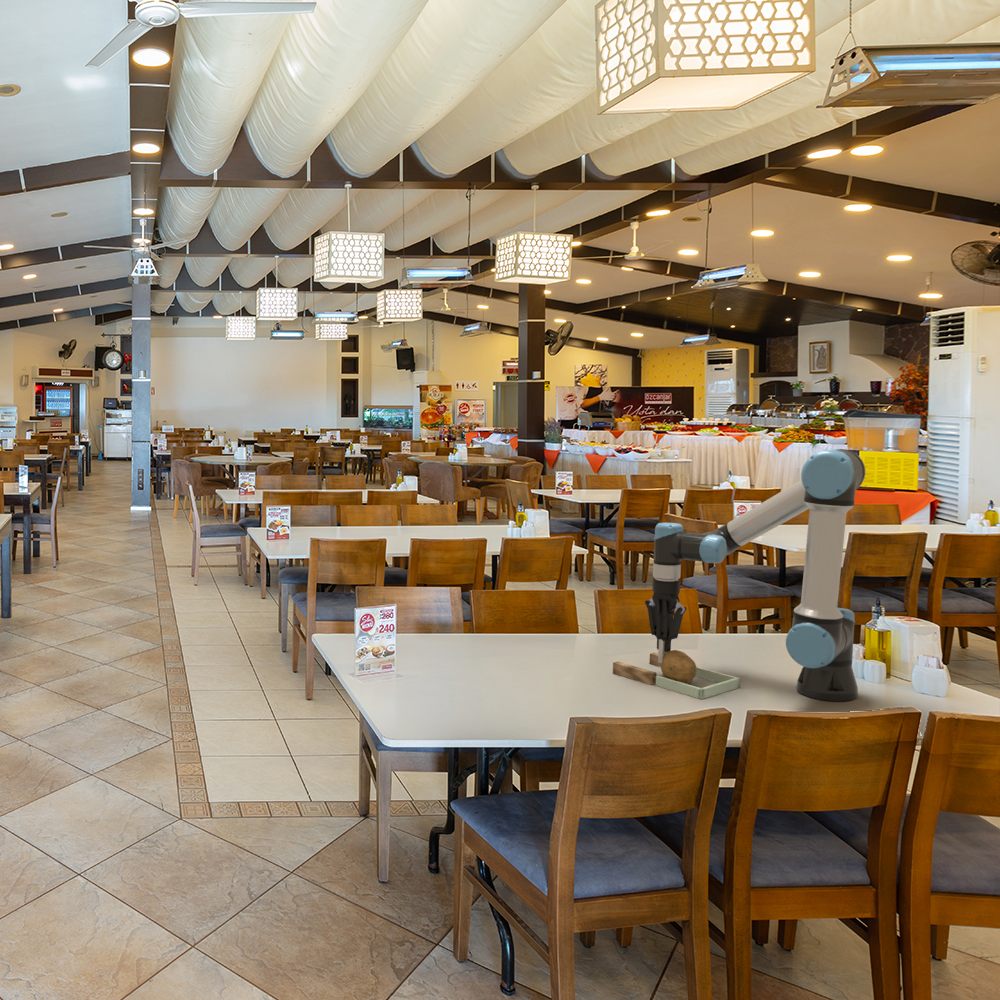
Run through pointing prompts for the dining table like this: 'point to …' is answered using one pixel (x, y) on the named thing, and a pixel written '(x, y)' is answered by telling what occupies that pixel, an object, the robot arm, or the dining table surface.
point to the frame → (722, 686)
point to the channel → (638, 670)
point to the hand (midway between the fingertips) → (663, 662)
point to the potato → (678, 667)
